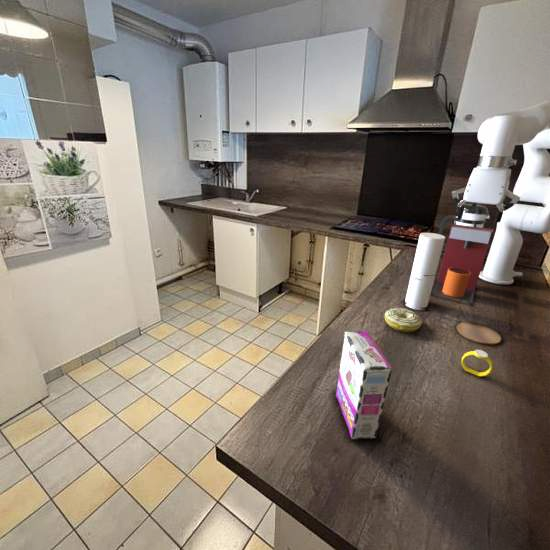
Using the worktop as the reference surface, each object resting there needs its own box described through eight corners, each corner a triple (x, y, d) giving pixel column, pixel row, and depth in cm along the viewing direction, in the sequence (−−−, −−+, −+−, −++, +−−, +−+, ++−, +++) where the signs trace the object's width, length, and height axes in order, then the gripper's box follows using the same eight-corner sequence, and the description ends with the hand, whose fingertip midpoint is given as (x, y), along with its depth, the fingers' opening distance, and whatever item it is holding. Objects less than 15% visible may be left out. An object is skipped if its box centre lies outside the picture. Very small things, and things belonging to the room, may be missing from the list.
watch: (458, 370, 71) (464, 350, 69) (459, 364, 73) (466, 345, 71) (487, 381, 68) (495, 361, 65) (488, 375, 70) (496, 355, 68)
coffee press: (468, 255, 154) (485, 197, 143) (481, 265, 140) (501, 202, 128) (433, 252, 158) (447, 195, 146) (441, 262, 143) (457, 200, 132)
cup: (443, 287, 114) (449, 265, 110) (464, 292, 110) (471, 270, 106) (440, 293, 108) (446, 271, 105) (463, 299, 104) (470, 276, 101)
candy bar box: (378, 439, 54) (394, 368, 47) (351, 440, 53) (364, 369, 47) (357, 392, 64) (368, 329, 57) (335, 394, 63) (343, 330, 57)
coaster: (484, 323, 91) (484, 322, 91) (510, 345, 81) (510, 343, 81) (449, 323, 91) (449, 321, 91) (470, 344, 81) (471, 343, 81)
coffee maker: (438, 280, 122) (452, 224, 113) (474, 288, 115) (493, 229, 106) (430, 295, 109) (447, 232, 100) (471, 305, 102) (492, 239, 93)
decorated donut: (425, 324, 90) (428, 313, 89) (413, 339, 83) (416, 327, 81) (392, 312, 97) (394, 302, 95) (378, 324, 89) (380, 314, 88)
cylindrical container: (429, 311, 98) (448, 239, 88) (407, 308, 99) (423, 237, 89) (423, 301, 104) (440, 233, 95) (402, 299, 106) (417, 232, 96)
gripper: (532, 164, 81) (512, 224, 88) (462, 162, 92) (449, 216, 99) (530, 165, 76) (509, 228, 83) (456, 162, 87) (442, 219, 94)
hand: (476, 221), depth 91 cm, fingers open, 9 cm apart
